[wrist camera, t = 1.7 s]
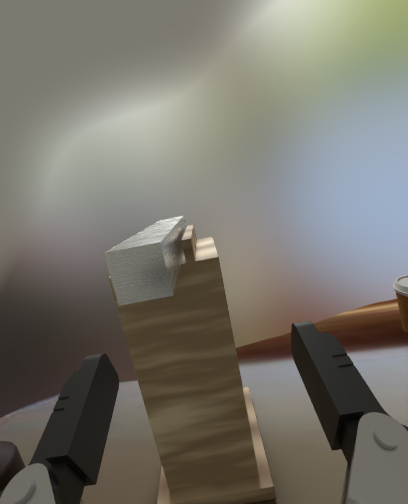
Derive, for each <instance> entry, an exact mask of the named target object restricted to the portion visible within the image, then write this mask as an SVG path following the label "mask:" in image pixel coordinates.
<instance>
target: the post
mask: <svg viewBox="0 0 408 504" xmlns="http://www.w3.org/2000/svg"><path fill="white" fill-rule="evenodd" d="M181 241H182V246H183V251H184V257H183V260H182V264H181V268H180V272H179V275H178V279H177V283H176V286H175V290H174V294H173V296H169V297H164V298H158V299H153V300H148V301H142V302H137V303H132V304H127V305H121V306H119V305H118V301H117V298H116V294H115V291H114V287H113V284H112V280H111V277H109V281H110V285H111V288H112V292H113V295H114V299H115V302H116V306H117V309H118V313H119V316H120V320H121V323H122V327H123V330H124V334H125V337H126V341H127V344H128V348H129V351H130V355H131V358H132V362H133V365H134V369H135V372H136V376H137V379H138V383H139V386H140V390H141V393H142V397H143V400H144V404H145V407H146V411H147V414H148V418H149V421H150V425H151V428H152V432H153V435H154V439H155V442H156V446H157V449H158V453H159V456H160V460H161V463H162V470H161V477H160V484H159V492H158V499H157V504H247V503H252V502H258V501H264V500H270V499H276V497H275V491H274V486H273V482H272V478H271V474H270V470H269V466H268V462H267V459H266V455H265V451H264V447H263V443H262V439H261V435H260V431H259V428H258V424H257V420H256V416H255V412H254V408H253V404H252V400H251V397H250V393H249V389H248V387H246V388H243V386H242V381H241V376H240V370H239V365H238V359H237V354H236V349H235V343H234V338H233V333H232V328H231V322H230V317H229V311H228V306H227V301H226V295H225V290H224V284H223V279H222V273H221V269H220V263H219V258H218V254H217V251H216V248H215V245H214V242H213V239H212V237H209V238H204V239H199V240H197V239H196V234H195V229H194V225H189V226H187V228H186V230H185V233H184V235H183V237H182V240H181Z"/></svg>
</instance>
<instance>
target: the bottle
mask: <svg viewBox="0 0 408 504" xmlns="http://www.w3.org/2000/svg"><path fill="white" fill-rule="evenodd" d="M24 468H25V465H24V463H23V460H22V458H21V456H20V453H19V451H18V449H17V447H16V446H15V445H14V444H13V443H12V442H7V441H0V492H1V491H2V490H4V489H5V488H6V486H7V485H8V483H9V482H10V481H11V480H12V478H13V477H14V476H15V475H16V474H17V473H19V472H20V471H21V470H22V469H24Z"/></svg>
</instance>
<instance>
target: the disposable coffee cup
mask: <svg viewBox="0 0 408 504" xmlns="http://www.w3.org/2000/svg"><path fill="white" fill-rule="evenodd" d="M393 288H394V290H395V291H396V295H397V300H398V306H399V311H400V316H401V321H402V326H403V330H404V331H405V332H406V333H408V275H403V276H400V277H398V278H396V279H395V283H394V284H393Z"/></svg>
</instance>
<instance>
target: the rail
mask: <svg viewBox="0 0 408 504" xmlns="http://www.w3.org/2000/svg"><path fill="white" fill-rule="evenodd" d="M185 230H186V225H185V220H184V216H180V217H175V218H170V219H164V220H160V221H158V222H157V223H155V224H153V225H151V226H150V227H148V228H146V229H145V230H143V231H141V232H139V233H137V234H136V235H134V236H132V237H131V238H129V239H127V240H125V241H124V242H122V243H120V244H119V245H117V246H115V247H113V248H111V249H110V250H108V251H106V252H105V253H104V255H105V259H106V262H107V266H108V270H109V273H110V277H111V280H112V284H113V287H114V291H115V294H116V298H117V301H118V305H119V306H121V305H127V304H132V303H137V302H142V301H148V300H153V299H158V298H164V297H169V296H173V294H174V290H175V286H176V283H177V279H178V275H179V272H180V268H181V264H182V260H183V257H184V251H183V246H182V241H181V240H182V237H183V235H184V233H185Z"/></svg>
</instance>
